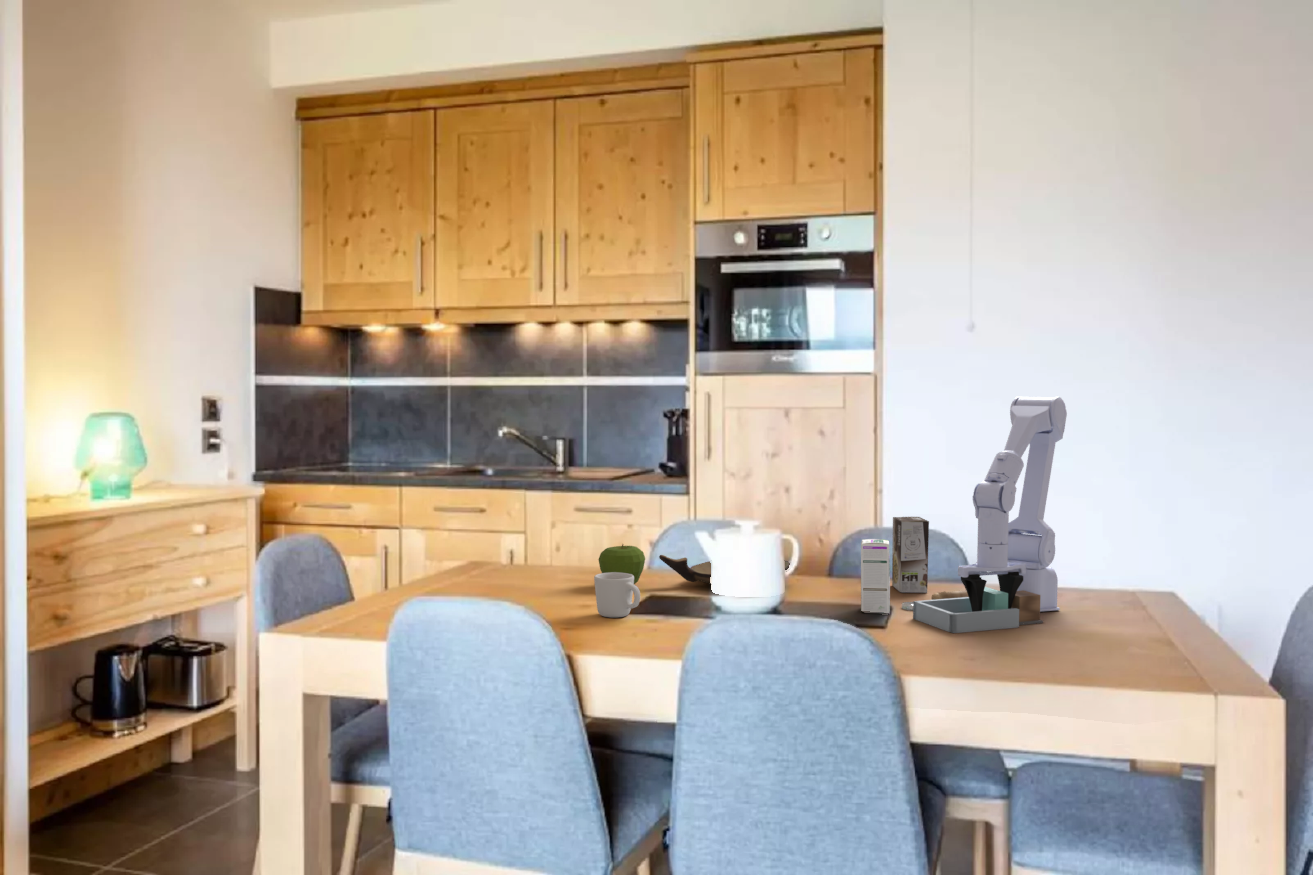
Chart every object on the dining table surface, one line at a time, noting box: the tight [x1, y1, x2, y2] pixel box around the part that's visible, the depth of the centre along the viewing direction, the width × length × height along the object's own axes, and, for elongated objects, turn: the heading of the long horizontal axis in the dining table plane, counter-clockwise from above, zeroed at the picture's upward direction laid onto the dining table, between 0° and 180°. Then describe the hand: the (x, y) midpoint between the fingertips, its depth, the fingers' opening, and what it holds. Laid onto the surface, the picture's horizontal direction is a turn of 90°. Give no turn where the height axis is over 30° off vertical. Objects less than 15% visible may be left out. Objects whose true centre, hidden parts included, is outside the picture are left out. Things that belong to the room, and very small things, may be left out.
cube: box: [1011, 590, 1041, 622], centre depth 212 cm, size 5×5×5 cm
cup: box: [593, 572, 641, 619], centre depth 211 cm, size 11×8×8 cm
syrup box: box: [860, 538, 891, 614], centre depth 217 cm, size 6×6×14 cm
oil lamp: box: [658, 554, 791, 585], centre depth 246 cm, size 22×30×8 cm
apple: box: [597, 543, 646, 585], centre depth 242 cm, size 11×10×10 cm
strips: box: [1019, 619, 1044, 626], centre depth 211 cm, size 6×10×1 cm, turn 20°
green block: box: [982, 586, 1008, 611], centre depth 210 cm, size 3×7×6 cm, turn 20°
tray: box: [912, 597, 1020, 634], centre depth 207 cm, size 15×13×4 cm
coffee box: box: [891, 516, 930, 594], centre depth 241 cm, size 9×6×16 cm
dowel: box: [930, 589, 969, 600], centre depth 228 cm, size 12×2×2 cm, turn 110°
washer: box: [901, 601, 913, 612], centre depth 221 cm, size 4×4×1 cm
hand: (991, 611), depth 209 cm, fingers open, 6 cm apart
